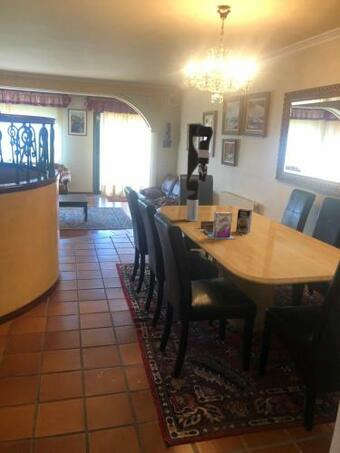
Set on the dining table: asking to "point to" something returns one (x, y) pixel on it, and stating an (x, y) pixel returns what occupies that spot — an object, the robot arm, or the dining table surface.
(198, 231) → the dining table surface
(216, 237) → the pad
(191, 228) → the dining table surface
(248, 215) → the coffee box
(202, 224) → the walled channel
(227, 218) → the candy bar box
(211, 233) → the tray
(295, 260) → the dining table surface
